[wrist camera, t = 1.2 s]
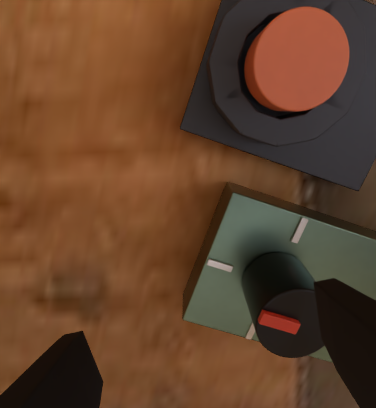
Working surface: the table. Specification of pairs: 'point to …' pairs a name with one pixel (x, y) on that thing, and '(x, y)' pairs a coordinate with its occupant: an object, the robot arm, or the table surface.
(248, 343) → the table surface
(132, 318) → the table surface
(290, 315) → the lock dial
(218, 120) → the base
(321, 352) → the dial panel
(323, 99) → the button
